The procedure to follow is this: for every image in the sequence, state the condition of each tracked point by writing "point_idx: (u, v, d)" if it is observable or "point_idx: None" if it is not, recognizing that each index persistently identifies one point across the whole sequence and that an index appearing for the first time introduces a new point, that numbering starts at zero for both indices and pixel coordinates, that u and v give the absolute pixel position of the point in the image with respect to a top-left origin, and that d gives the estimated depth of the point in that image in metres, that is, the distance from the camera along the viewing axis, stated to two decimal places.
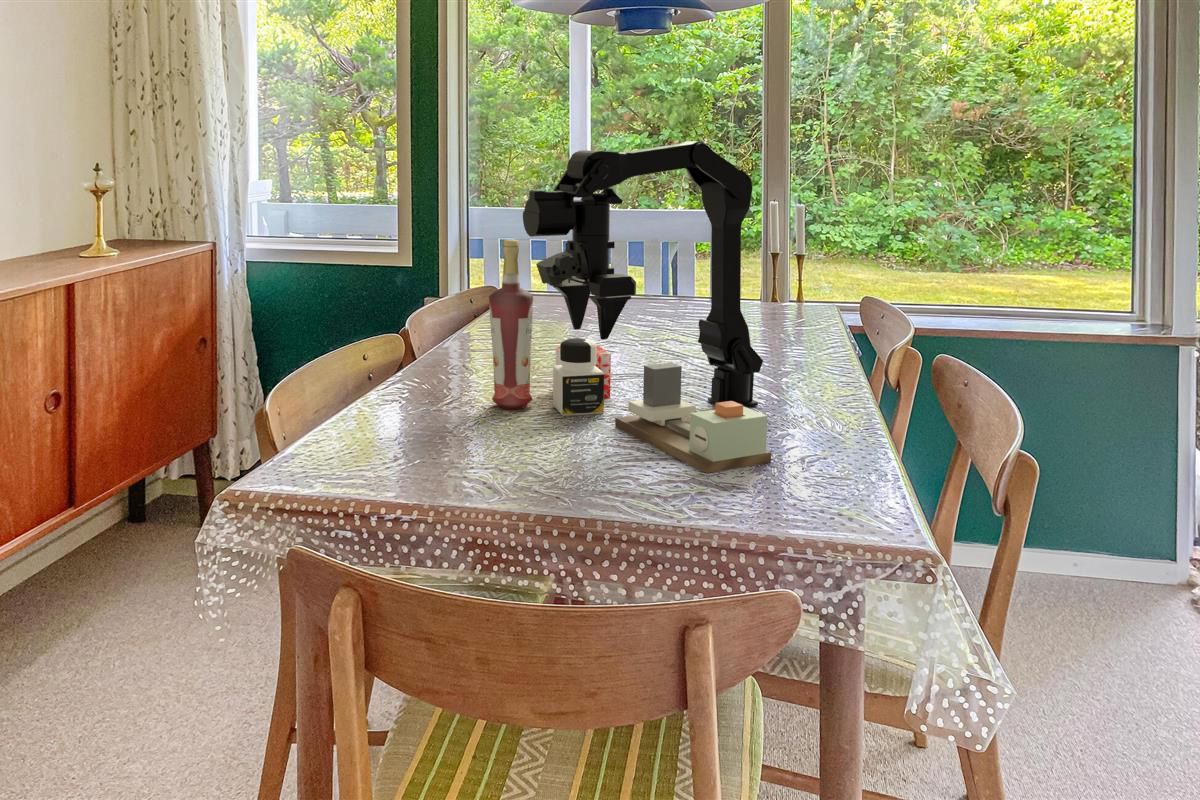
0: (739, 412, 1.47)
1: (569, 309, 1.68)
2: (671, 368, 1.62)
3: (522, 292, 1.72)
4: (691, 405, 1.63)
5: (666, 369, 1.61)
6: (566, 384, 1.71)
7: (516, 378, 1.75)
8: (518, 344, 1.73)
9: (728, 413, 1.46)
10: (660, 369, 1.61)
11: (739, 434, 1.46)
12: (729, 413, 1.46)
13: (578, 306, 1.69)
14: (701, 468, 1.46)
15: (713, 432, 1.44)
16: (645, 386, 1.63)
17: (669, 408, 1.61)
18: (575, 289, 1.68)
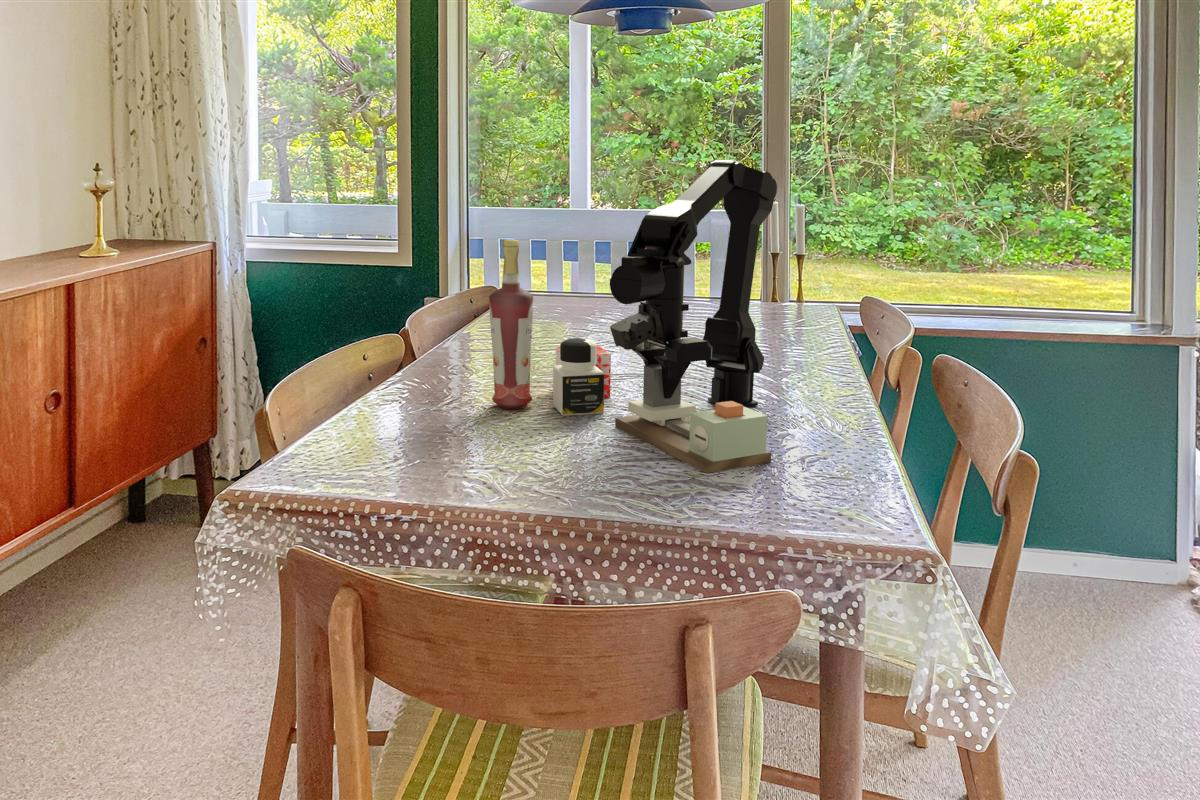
0: (739, 412, 1.47)
1: None
2: None
3: (522, 292, 1.72)
4: (691, 405, 1.63)
5: None
6: (566, 384, 1.71)
7: (516, 378, 1.75)
8: (518, 344, 1.73)
9: (728, 413, 1.46)
10: (660, 369, 1.61)
11: (739, 434, 1.46)
12: (729, 413, 1.46)
13: None
14: (701, 468, 1.46)
15: (713, 432, 1.44)
16: (645, 386, 1.63)
17: (669, 408, 1.61)
18: (655, 353, 1.64)
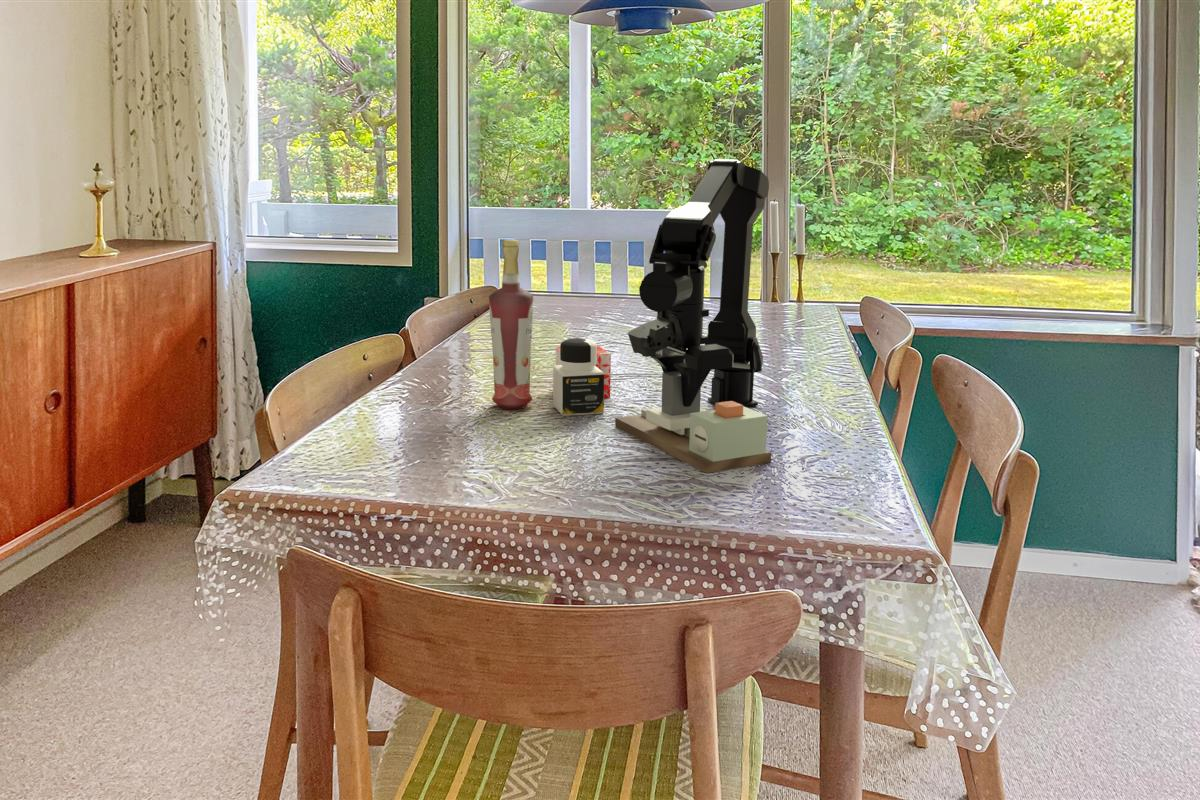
0: (739, 412, 1.47)
1: None
2: None
3: (521, 292, 1.72)
4: None
5: None
6: (566, 384, 1.71)
7: (516, 378, 1.75)
8: (518, 344, 1.73)
9: (728, 413, 1.46)
10: (679, 376, 1.56)
11: (739, 434, 1.46)
12: (729, 413, 1.46)
13: None
14: (701, 468, 1.46)
15: (713, 432, 1.44)
16: (664, 394, 1.58)
17: (688, 416, 1.56)
18: (674, 360, 1.59)
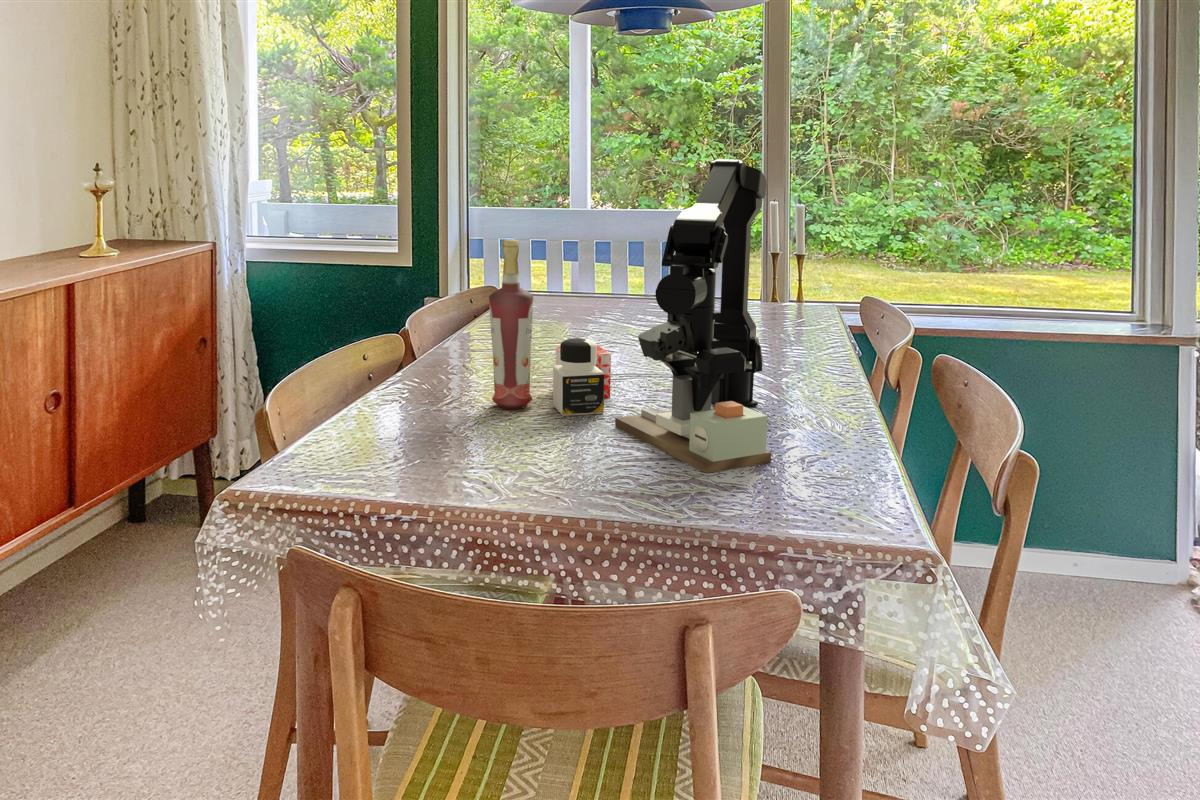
0: (739, 412, 1.47)
1: None
2: None
3: (522, 292, 1.72)
4: None
5: None
6: (566, 384, 1.71)
7: (516, 378, 1.75)
8: (518, 344, 1.73)
9: (728, 413, 1.46)
10: (690, 380, 1.54)
11: (739, 434, 1.46)
12: (729, 413, 1.46)
13: None
14: (701, 468, 1.46)
15: (713, 432, 1.44)
16: (674, 398, 1.56)
17: None
18: (684, 363, 1.57)
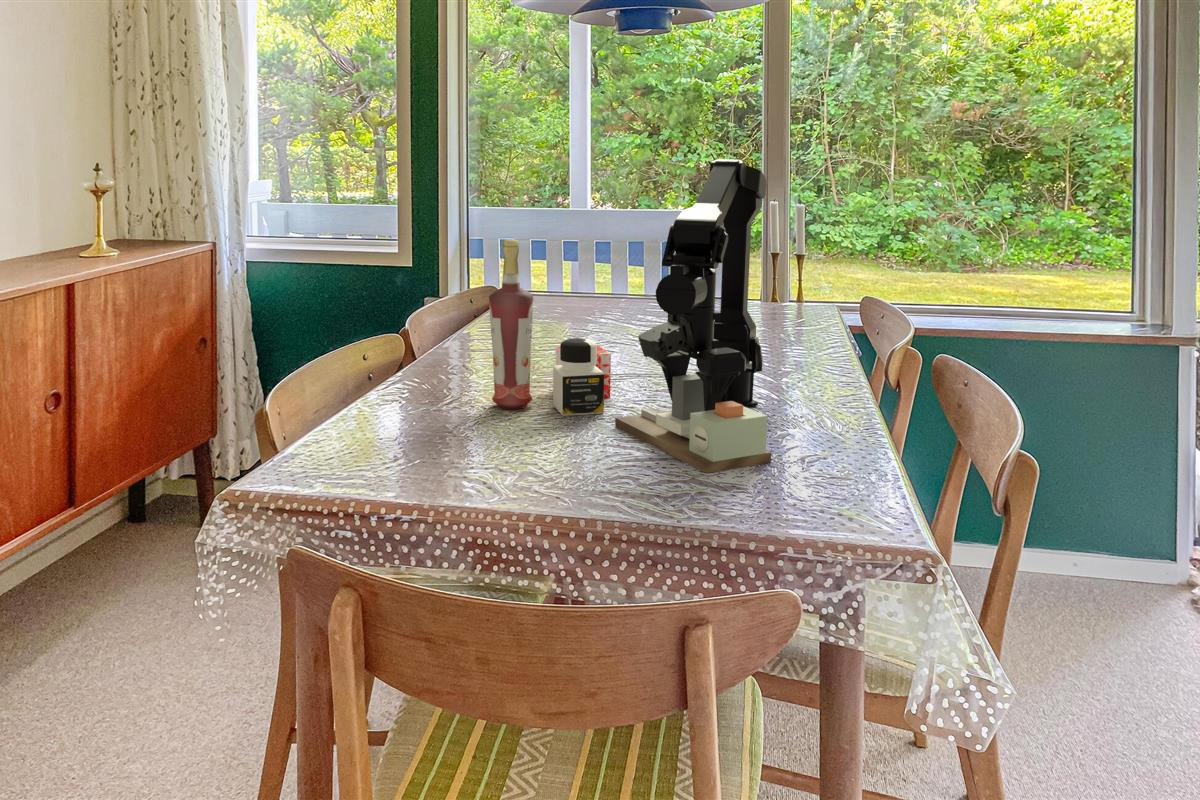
0: (739, 412, 1.47)
1: (667, 380, 1.60)
2: None
3: (522, 292, 1.72)
4: None
5: (696, 380, 1.54)
6: (566, 384, 1.71)
7: (516, 378, 1.75)
8: (518, 344, 1.73)
9: (728, 413, 1.46)
10: (690, 380, 1.54)
11: (739, 434, 1.46)
12: (729, 413, 1.46)
13: None
14: (701, 468, 1.46)
15: (713, 432, 1.44)
16: (674, 398, 1.56)
17: None
18: (674, 360, 1.59)
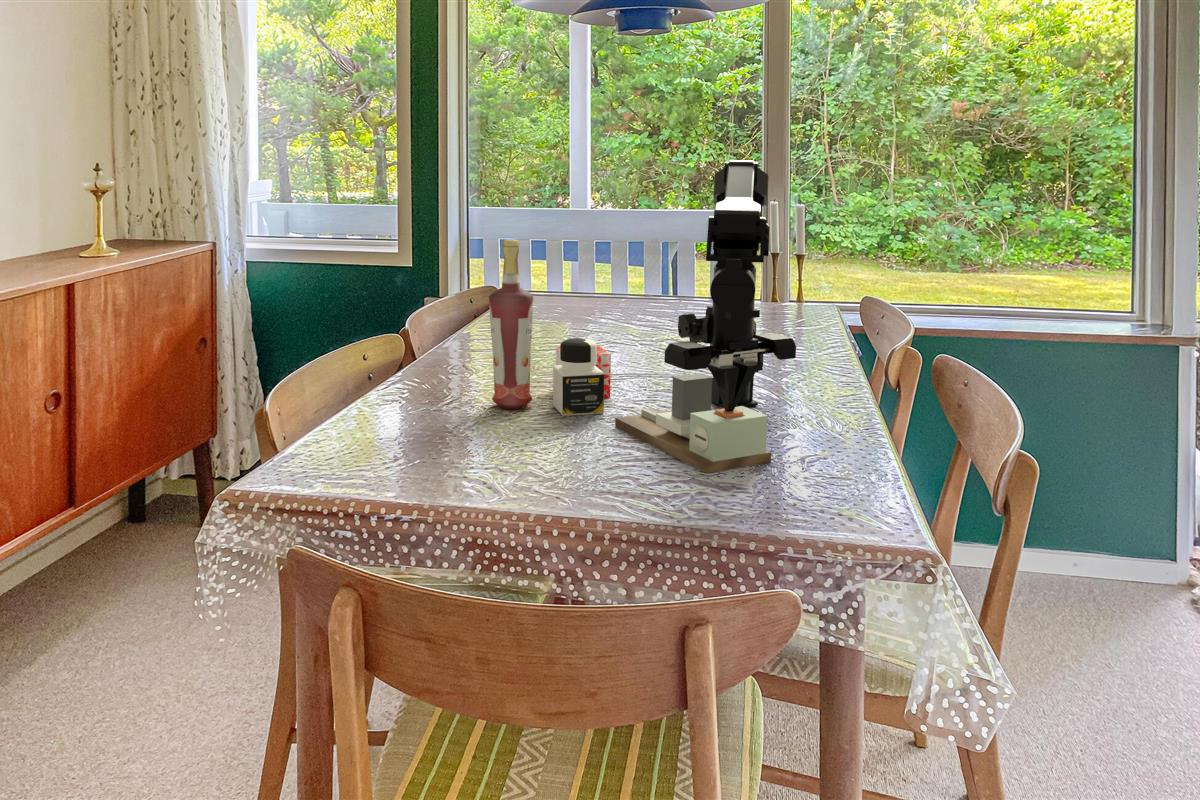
0: None
1: None
2: (701, 379, 1.54)
3: (522, 292, 1.72)
4: None
5: (696, 380, 1.54)
6: (566, 384, 1.71)
7: (516, 378, 1.75)
8: (518, 344, 1.73)
9: None
10: (690, 380, 1.54)
11: (739, 434, 1.46)
12: None
13: None
14: (701, 468, 1.46)
15: (713, 432, 1.44)
16: (674, 398, 1.56)
17: None
18: (734, 366, 1.47)
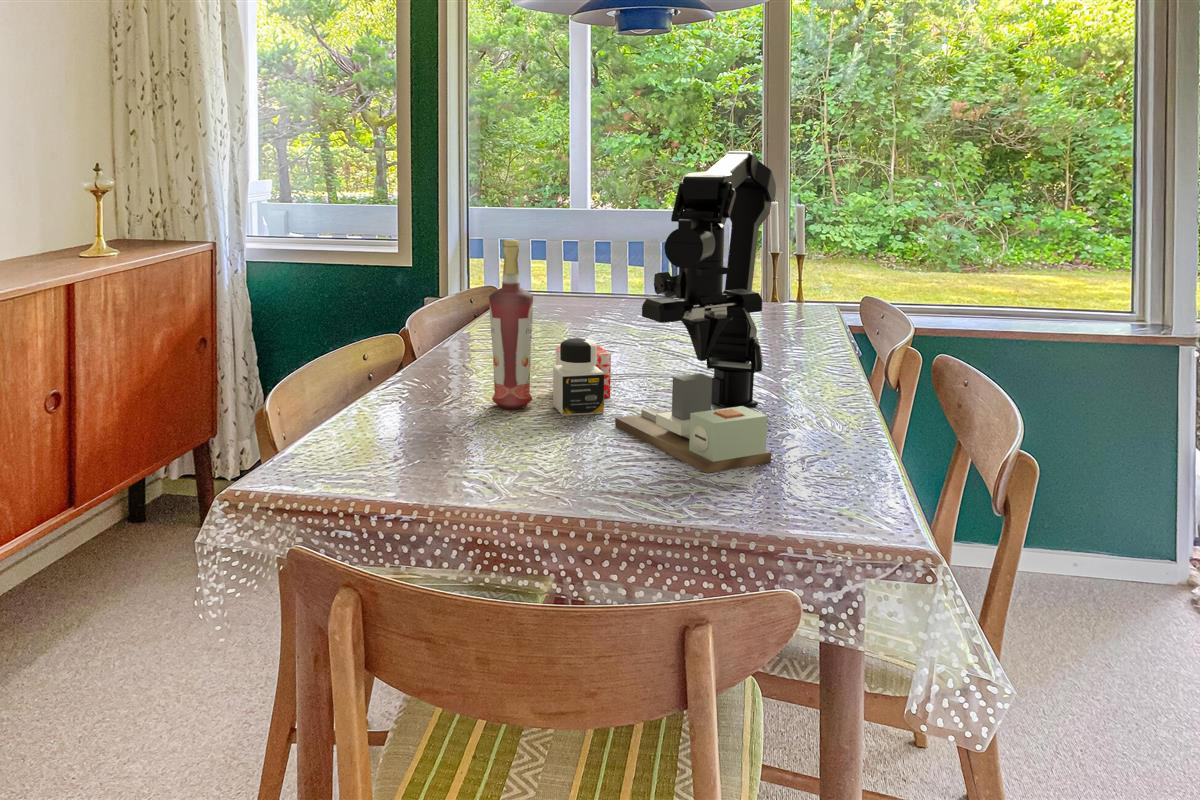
0: None
1: None
2: (701, 379, 1.54)
3: (522, 292, 1.72)
4: None
5: (696, 380, 1.54)
6: (566, 384, 1.71)
7: (516, 378, 1.75)
8: (518, 344, 1.73)
9: None
10: (690, 380, 1.54)
11: (739, 434, 1.46)
12: None
13: None
14: (701, 468, 1.46)
15: (713, 432, 1.44)
16: (674, 398, 1.56)
17: None
18: (706, 319, 1.60)
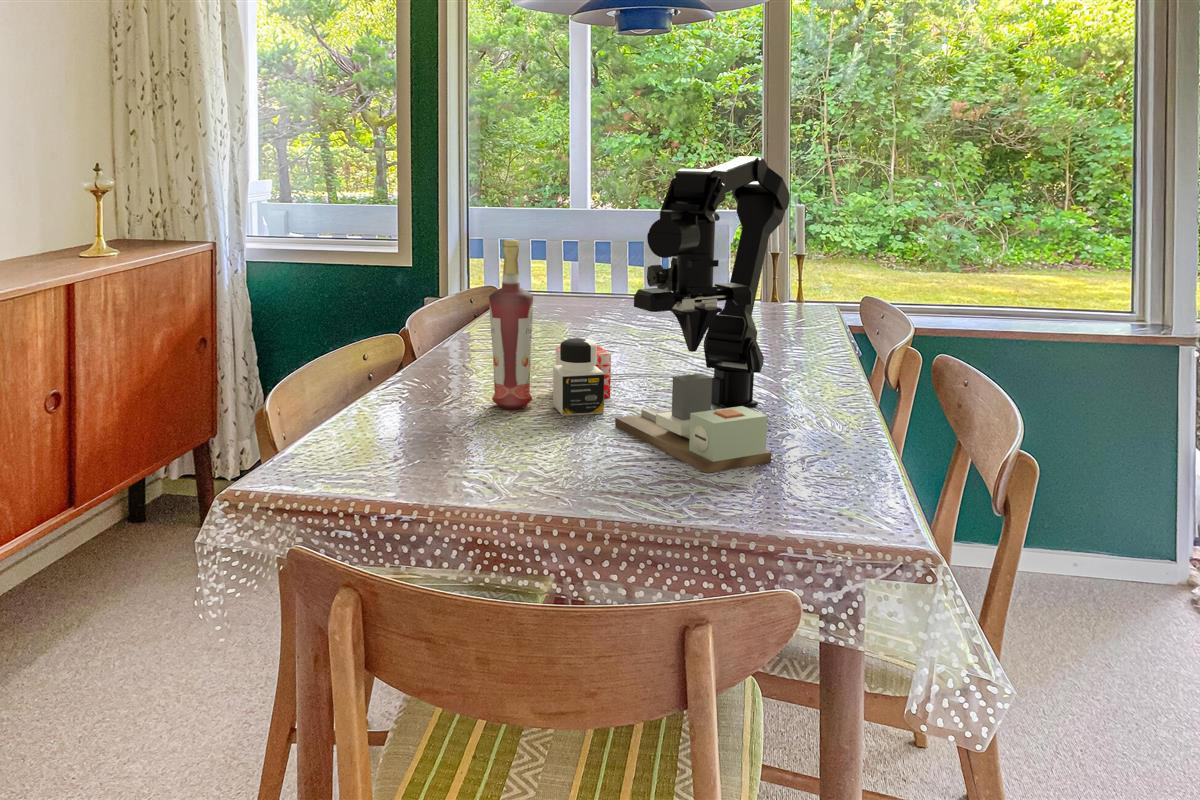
0: None
1: None
2: (701, 379, 1.54)
3: (522, 292, 1.72)
4: None
5: (696, 380, 1.54)
6: (566, 384, 1.71)
7: (516, 378, 1.75)
8: (518, 344, 1.73)
9: None
10: (690, 380, 1.54)
11: (739, 434, 1.46)
12: None
13: None
14: (701, 468, 1.46)
15: (713, 432, 1.44)
16: (674, 398, 1.56)
17: None
18: None
